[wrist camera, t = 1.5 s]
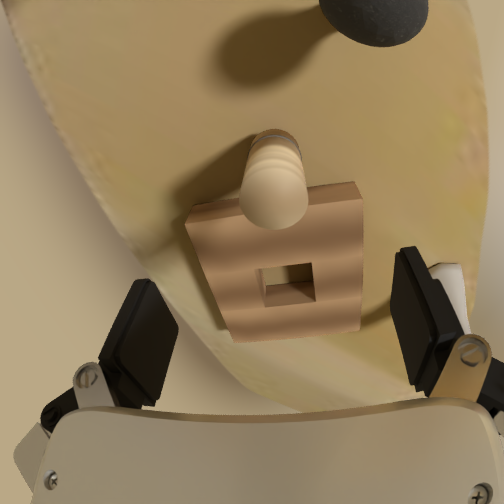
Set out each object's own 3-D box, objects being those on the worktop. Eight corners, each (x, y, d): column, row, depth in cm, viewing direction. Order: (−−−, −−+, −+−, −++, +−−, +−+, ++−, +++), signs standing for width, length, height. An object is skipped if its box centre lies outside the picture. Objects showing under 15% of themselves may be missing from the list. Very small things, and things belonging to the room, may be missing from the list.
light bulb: (297, 32, 17) (313, 22, 9) (313, -32, 14) (340, -80, 6) (371, 56, 18) (434, 69, 10) (388, -6, 14) (457, -27, 6)
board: (192, 205, 27) (184, 224, 24) (354, 181, 24) (362, 198, 22) (237, 322, 36) (234, 342, 34) (355, 309, 34) (359, 330, 31)
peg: (246, 128, 22) (230, 174, 15) (294, 120, 22) (304, 163, 14) (256, 170, 24) (246, 234, 17) (302, 163, 24) (313, 225, 17)
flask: (466, 254, 28) (505, 323, 20) (458, 298, 32) (485, 363, 24) (410, 268, 30) (440, 345, 22) (407, 311, 34) (428, 382, 26)
